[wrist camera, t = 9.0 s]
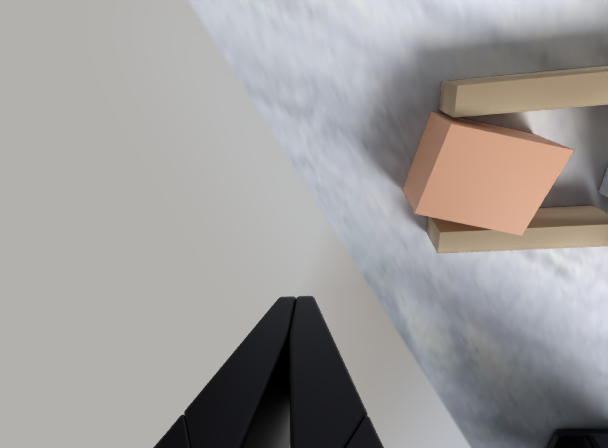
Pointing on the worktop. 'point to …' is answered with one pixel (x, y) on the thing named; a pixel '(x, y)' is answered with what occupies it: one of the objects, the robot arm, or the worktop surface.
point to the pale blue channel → (604, 185)
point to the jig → (519, 98)
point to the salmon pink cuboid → (482, 173)
